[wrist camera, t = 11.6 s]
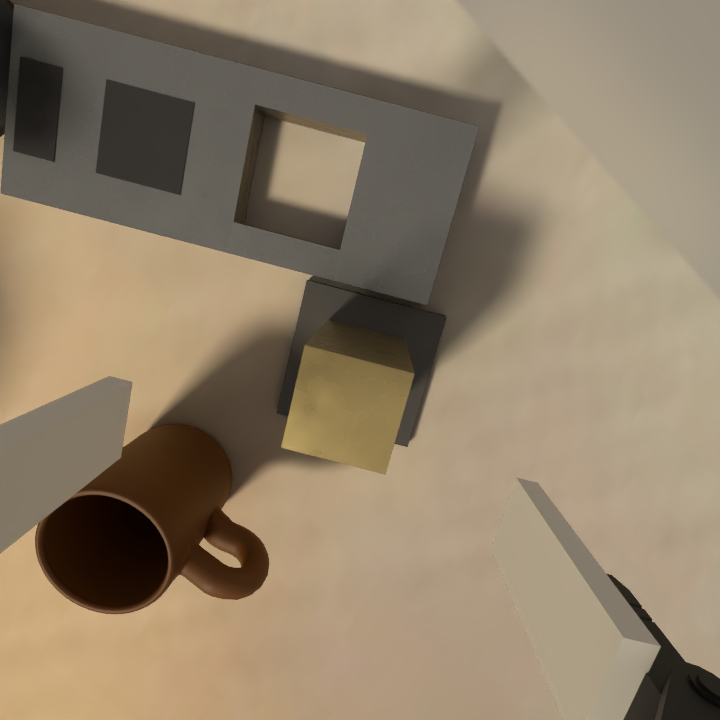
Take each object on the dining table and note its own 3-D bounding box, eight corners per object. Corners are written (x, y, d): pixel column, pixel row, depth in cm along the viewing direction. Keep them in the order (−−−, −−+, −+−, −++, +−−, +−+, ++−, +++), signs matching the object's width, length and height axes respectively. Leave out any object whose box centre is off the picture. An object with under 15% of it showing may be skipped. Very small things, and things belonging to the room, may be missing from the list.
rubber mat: (278, 410, 31) (276, 412, 30) (308, 279, 29) (306, 280, 28) (407, 443, 31) (407, 447, 30) (445, 315, 29) (446, 317, 28)
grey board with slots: (26, 197, 29) (-1, 193, 27) (41, 22, 26) (13, 2, 24) (424, 302, 29) (427, 305, 27) (472, 136, 27) (479, 126, 25)
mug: (308, 464, 32) (277, 548, 22) (275, 553, 33) (233, 665, 24) (145, 404, 31) (46, 464, 22) (119, 497, 33) (17, 588, 24)
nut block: (311, 392, 30) (281, 447, 21) (328, 319, 29) (304, 345, 20) (384, 411, 30) (385, 474, 21) (405, 338, 29) (414, 373, 20)
